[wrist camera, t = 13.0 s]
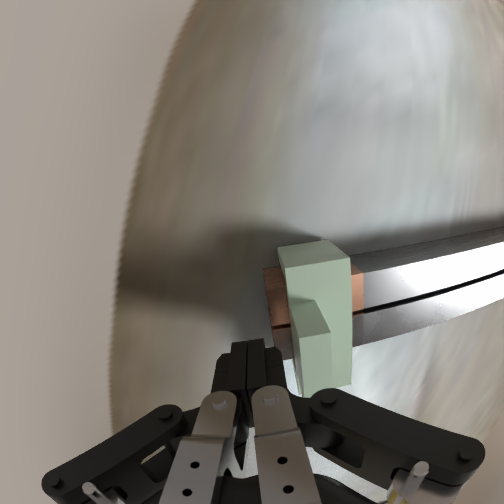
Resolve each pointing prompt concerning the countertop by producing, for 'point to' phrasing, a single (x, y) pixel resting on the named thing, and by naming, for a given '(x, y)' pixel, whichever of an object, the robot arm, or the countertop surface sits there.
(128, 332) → the countertop surface
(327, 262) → the collar
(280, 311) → the tongs fixed
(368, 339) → the tong arm
